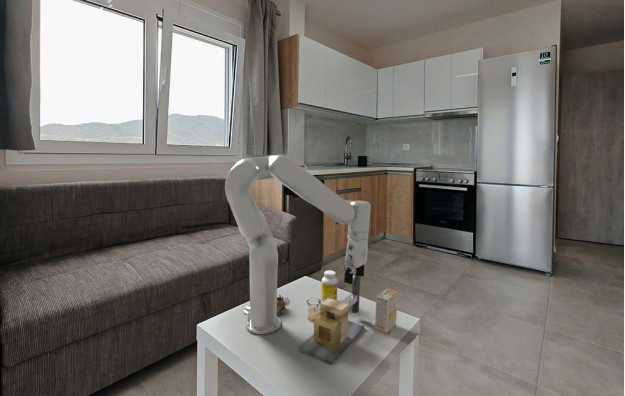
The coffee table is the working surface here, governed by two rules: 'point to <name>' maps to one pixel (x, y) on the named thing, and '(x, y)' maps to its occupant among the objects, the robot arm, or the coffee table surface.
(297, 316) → the coffee table surface
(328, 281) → the supplement bottle
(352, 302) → the crank handle
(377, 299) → the supplement box
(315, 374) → the coffee table surface
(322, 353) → the block
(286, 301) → the eagle figurine
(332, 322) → the yellow square frame
